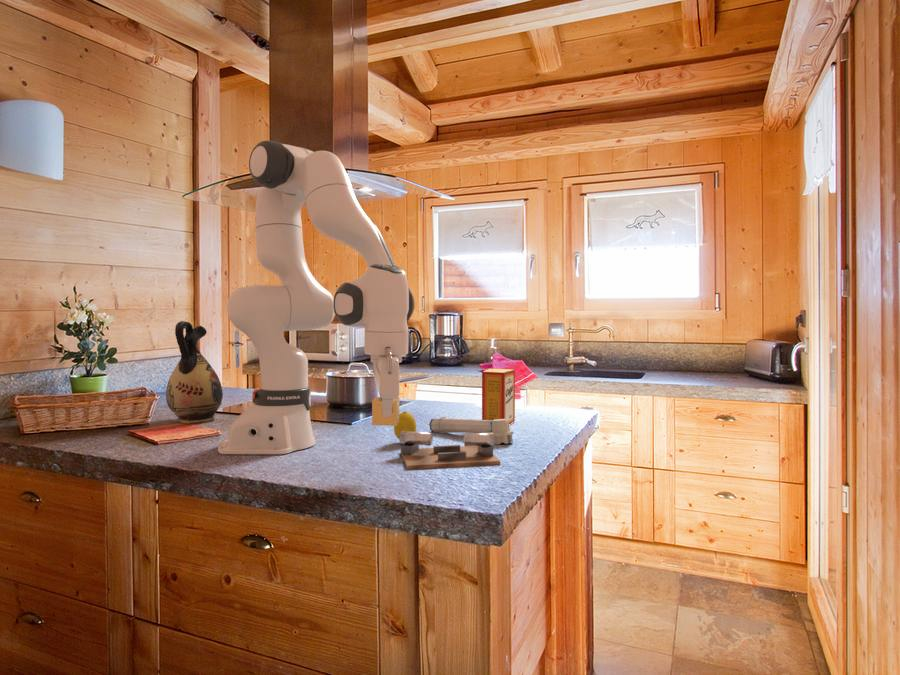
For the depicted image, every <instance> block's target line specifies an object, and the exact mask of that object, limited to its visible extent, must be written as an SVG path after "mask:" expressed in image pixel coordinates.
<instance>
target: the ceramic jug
mask: <svg viewBox="0 0 900 675" xmlns="http://www.w3.org/2000/svg"><path fill="white" fill-rule="evenodd" d="M184 330H185V331H184ZM184 332H185V333H184ZM207 333H208V332H207V329H206V328H205V327H204V326H202V325H198V326H195V327H193V324H192V323H191V322H189V321H184V320H183V321H182V320H181V321H179V322H177V323H176V324H175V329H174V334H175V338H176V343H177V344H178V347H179V348H178V349H179V353H180V360H179V361H178V362H177V364H176V366H175V367H174V369H173V371H172V372H171V374H170V377H169V379H168V382H167V386H166V389H165V390H166V391H165V397H166V398H165V399H166V405H167V407H168V409H169V410H170V411H171V412H172V413H173V414H174V415H175V416H176V417H177V418H178V420H179V422H180V423H182V424H185V423H187V424H191V423H193V424H194V423H207V422H211V421H215V418H214V416H215V415H216V412H217V411H218V410H219V408H220V407H221V405H222V400H223V396H224V392H223V387H222V383H221V381H220V377H219V376H218V374H217V373H216V371H215V370H214V368H213V367H212V365H211V364H210V363H209V361H208V360H207V359H206V358H205V357H204V356H203V355H202V353H201V351H200V350H199V349H198V341H199V340H200V339H202V338H203V337H205V336H206V335H207Z"/></svg>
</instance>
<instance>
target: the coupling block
mask: <svg viewBox="0 0 900 675" xmlns="http://www.w3.org/2000/svg"><path fill="white" fill-rule="evenodd" d="M371 402H372V403H371V406H372V407H371V409H372V410H371V426H383V427H384V426H385V427H387V426H389V427H392V426H393V427H394V426H397V425H398V423H399V414H400V397H398V398H393V404H392V415H391V416H390V417H384V416H383V414H382V398H380V396H375V397H374V398H373V399H372V400H371Z"/></svg>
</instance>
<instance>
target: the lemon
mask: <svg viewBox="0 0 900 675" xmlns="http://www.w3.org/2000/svg"><path fill="white" fill-rule="evenodd" d="M393 431H394V435H395V437H396V438H397V439H398V440H399V436H400V432H401V431H412V432H417V422H416V419H415V417H414V416H413V414H411V413H409V412H408V411H406V410H404V411H403V412H401V413H399V423H398V425H397V426H393Z"/></svg>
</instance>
